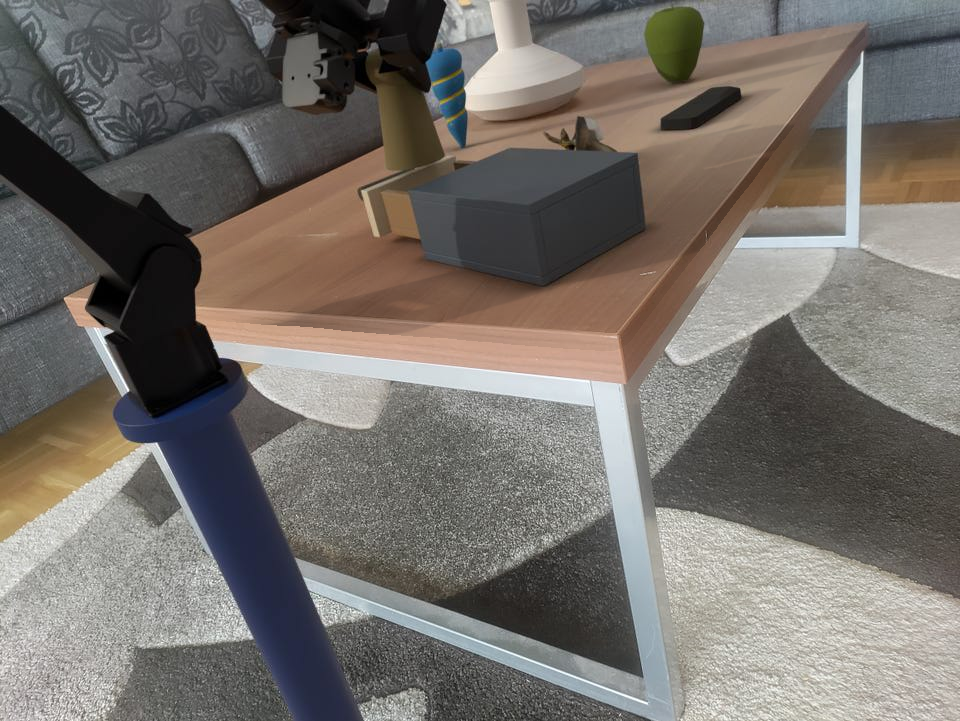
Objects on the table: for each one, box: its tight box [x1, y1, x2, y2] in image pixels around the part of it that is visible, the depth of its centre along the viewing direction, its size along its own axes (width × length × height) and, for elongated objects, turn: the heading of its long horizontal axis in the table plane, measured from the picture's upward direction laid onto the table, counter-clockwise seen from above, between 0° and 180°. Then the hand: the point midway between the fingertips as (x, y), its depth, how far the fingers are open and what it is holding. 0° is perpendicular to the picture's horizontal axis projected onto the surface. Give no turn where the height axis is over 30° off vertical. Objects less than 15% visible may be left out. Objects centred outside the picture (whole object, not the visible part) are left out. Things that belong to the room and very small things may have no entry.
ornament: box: [426, 37, 469, 149], centre depth 106 cm, size 5×5×15 cm
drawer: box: [357, 155, 478, 240], centre depth 75 cm, size 19×11×5 cm, turn 41°
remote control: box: [659, 85, 742, 131], centre depth 97 cm, size 5×2×15 cm
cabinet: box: [408, 147, 647, 287], centre depth 66 cm, size 16×13×7 cm
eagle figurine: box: [542, 115, 618, 152], centre depth 83 cm, size 8×7×9 cm
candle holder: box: [464, 0, 586, 122], centre depth 119 cm, size 20×20×19 cm
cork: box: [365, 47, 446, 172], centre depth 73 cm, size 6×6×11 cm
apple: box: [643, 2, 705, 84], centre depth 115 cm, size 9×8×12 cm
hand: (408, 91), depth 74 cm, fingers closed on cork, 5 cm apart
